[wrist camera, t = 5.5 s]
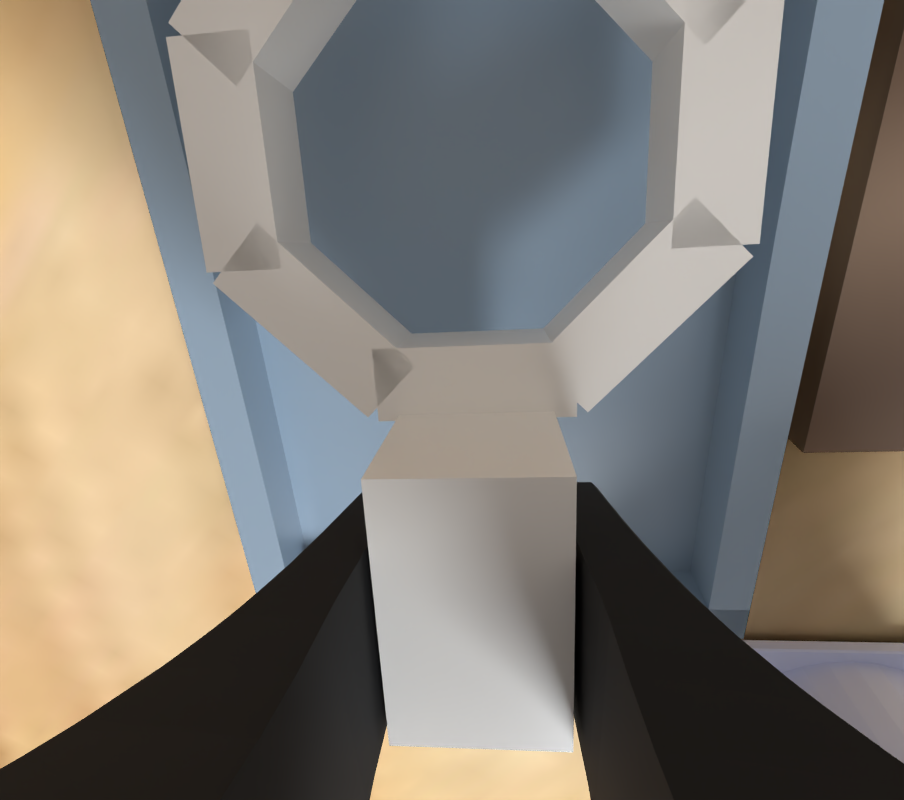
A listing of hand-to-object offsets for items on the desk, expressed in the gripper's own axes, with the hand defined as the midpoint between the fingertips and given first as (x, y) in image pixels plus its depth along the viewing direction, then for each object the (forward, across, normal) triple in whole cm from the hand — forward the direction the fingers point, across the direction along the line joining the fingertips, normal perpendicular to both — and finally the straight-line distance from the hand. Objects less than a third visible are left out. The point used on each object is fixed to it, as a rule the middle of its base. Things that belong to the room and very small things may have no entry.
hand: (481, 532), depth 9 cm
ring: (+2, 0, -4) cm, 4 cm away
